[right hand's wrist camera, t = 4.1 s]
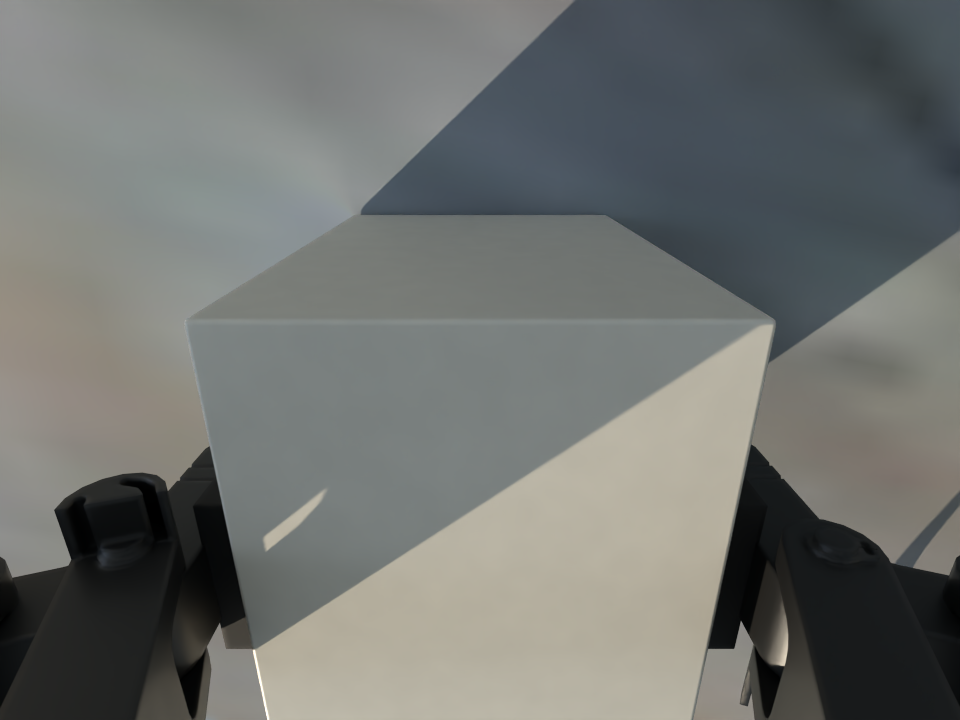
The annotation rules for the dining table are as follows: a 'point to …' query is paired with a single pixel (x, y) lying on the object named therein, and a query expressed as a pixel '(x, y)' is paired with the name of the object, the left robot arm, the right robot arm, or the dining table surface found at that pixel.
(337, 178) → the dining table surface
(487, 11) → the dining table surface
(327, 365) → the brick
